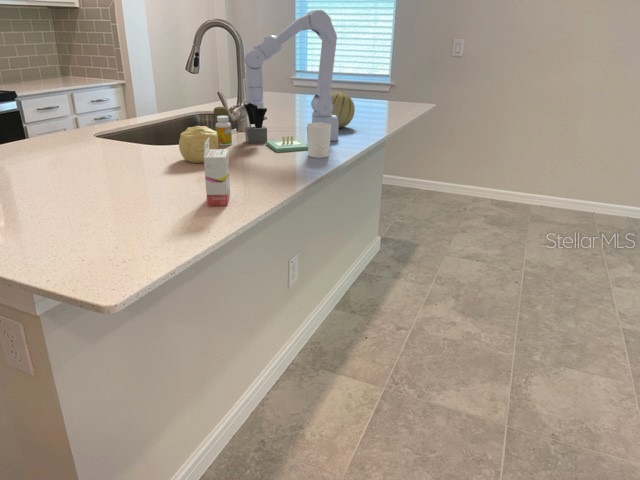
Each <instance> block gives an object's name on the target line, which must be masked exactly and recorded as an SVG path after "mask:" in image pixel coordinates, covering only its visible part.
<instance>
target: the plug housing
mask: <svg viewBox="0 0 640 480" xmlns="http://www.w3.org/2000/svg"><path fill="white" fill-rule="evenodd" d="M244 130H245V131H244V133H245V134H244V135H245V142H246V143H247V144H259V143H266V141H268V127H266V126H264V125H262V128H256V127H255V126H246V127H244Z"/></svg>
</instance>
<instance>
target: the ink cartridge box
mask: <svg viewBox="0 0 640 480" xmlns="http://www.w3.org/2000/svg"><path fill="white" fill-rule="evenodd" d="M206 146H207V148H206ZM229 158H230V157H229V149H228V148H225V149H224V148H223V149H222V148H221V149H220V148H218V149H210V150H209V137H208V139H207V140H206V142H205V143H204V163H203V165H204V177H205V178H204V179H205V190H206V192H205V193H206V201H207V202H206V203H207V207H228V205H229V200H230V197H231V187H230V186H231V185H230V184H231V183H230V163H229ZM209 205H210V206H209Z"/></svg>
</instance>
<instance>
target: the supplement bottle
mask: <svg viewBox="0 0 640 480" xmlns="http://www.w3.org/2000/svg"><path fill="white" fill-rule="evenodd" d="M229 120H230V119H229V115H227V116H217V121H218V123H216V125H215V124H214V127H215V126H216V132H217V135H218V146H221V147H228V146H232V144H233V137H232V124H231V122H229Z"/></svg>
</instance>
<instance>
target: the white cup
mask: <svg viewBox="0 0 640 480" xmlns="http://www.w3.org/2000/svg"><path fill="white" fill-rule="evenodd" d="M330 137H331V125H330V124H327V123H312V122H310V123H307V124H306V139H307V140H306V141H307V142H306V144H307V145H308V150H307V153H308V154H307V155H308V157H310V158H315V159H322V158H324V159H325V158H327V157H329V155H330V147H331V141H330Z"/></svg>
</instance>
